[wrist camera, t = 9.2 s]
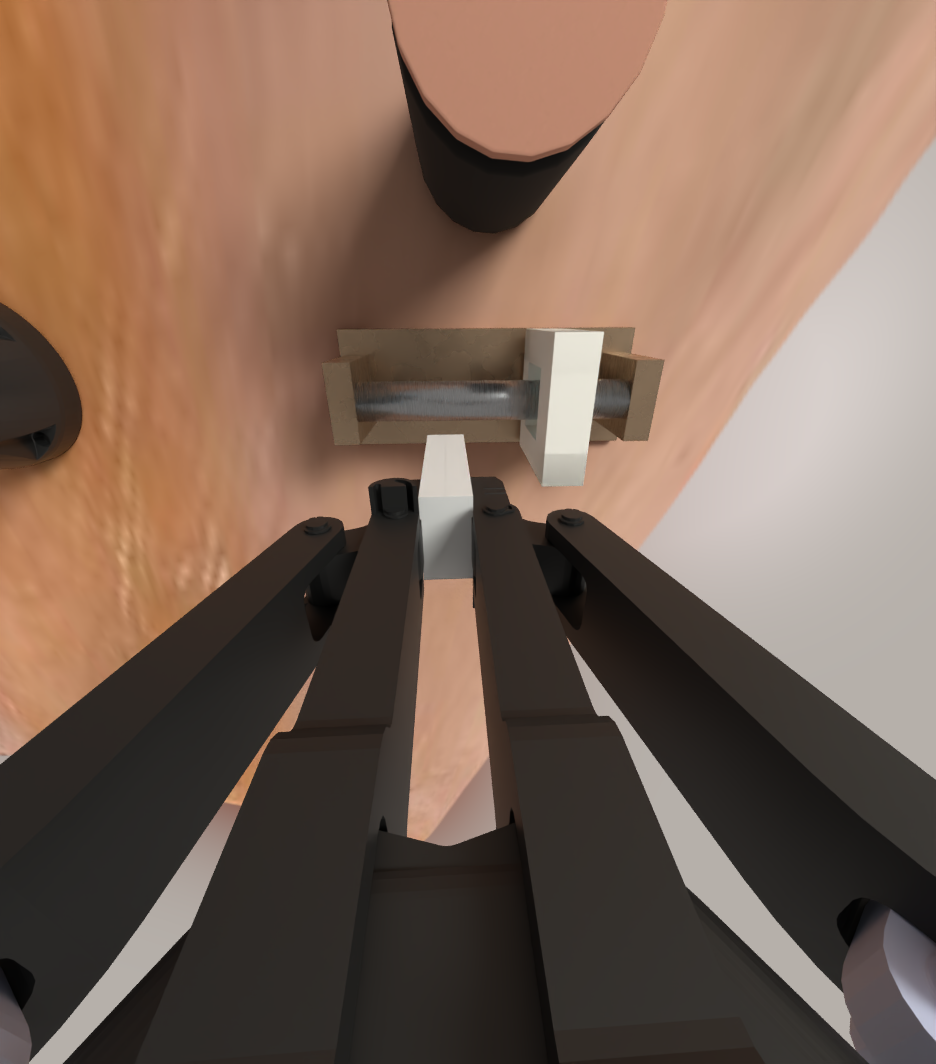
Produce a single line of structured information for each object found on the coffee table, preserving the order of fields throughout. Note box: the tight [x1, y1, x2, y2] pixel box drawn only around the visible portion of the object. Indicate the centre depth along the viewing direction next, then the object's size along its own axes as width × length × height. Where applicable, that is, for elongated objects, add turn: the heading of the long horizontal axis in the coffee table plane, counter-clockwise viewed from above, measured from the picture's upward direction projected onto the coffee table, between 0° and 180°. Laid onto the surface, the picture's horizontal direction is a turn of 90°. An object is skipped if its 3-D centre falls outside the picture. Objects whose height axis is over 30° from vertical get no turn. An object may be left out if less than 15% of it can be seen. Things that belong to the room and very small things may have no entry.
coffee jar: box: [387, 0, 667, 233], centre depth 22 cm, size 11×11×18 cm
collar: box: [519, 328, 604, 486], centre depth 32 cm, size 3×10×11 cm, turn 0°
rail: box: [321, 327, 664, 445], centre depth 34 cm, size 26×10×9 cm, turn 90°
